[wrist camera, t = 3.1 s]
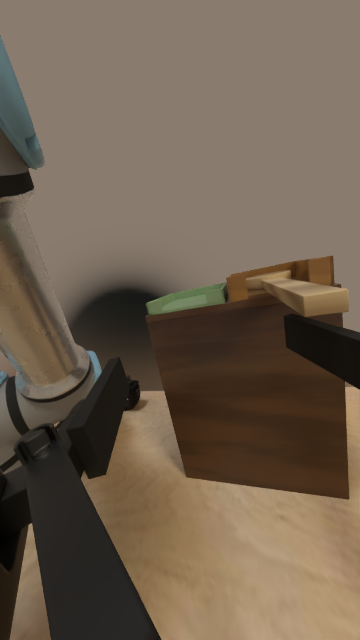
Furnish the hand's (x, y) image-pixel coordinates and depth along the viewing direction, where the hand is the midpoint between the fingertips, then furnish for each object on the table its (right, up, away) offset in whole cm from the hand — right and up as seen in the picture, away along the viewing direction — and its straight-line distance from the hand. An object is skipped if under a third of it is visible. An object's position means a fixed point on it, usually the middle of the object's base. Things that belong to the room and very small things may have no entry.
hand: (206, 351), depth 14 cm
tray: (0, +5, +16) cm, 16 cm away
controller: (-18, -24, +41) cm, 51 cm away
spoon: (+9, +6, +6) cm, 12 cm away
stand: (+12, -22, +20) cm, 31 cm away
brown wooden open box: (+11, +7, +12) cm, 18 cm away
